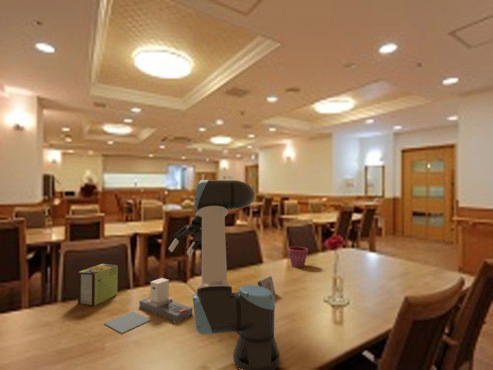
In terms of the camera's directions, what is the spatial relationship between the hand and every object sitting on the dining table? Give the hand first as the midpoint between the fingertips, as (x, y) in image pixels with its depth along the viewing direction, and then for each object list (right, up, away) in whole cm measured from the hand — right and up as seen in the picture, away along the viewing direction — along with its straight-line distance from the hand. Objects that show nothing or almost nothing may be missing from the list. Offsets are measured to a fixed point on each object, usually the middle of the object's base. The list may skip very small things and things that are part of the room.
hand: (178, 252), depth 136 cm
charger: (-7, -21, -9) cm, 24 cm away
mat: (-16, -24, -22) cm, 36 cm away
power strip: (-4, -24, -12) cm, 27 cm away
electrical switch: (+44, -25, +8) cm, 51 cm away
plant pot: (+72, -26, +63) cm, 99 cm away
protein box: (-42, -24, +2) cm, 48 cm away
